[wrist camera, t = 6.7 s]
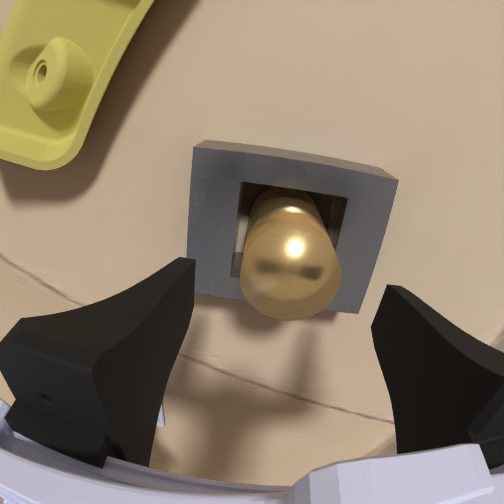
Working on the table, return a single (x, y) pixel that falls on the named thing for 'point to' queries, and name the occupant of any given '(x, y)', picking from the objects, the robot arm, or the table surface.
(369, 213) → the frame
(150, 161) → the table surface
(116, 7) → the plastic component
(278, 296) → the gold metal cylinder
